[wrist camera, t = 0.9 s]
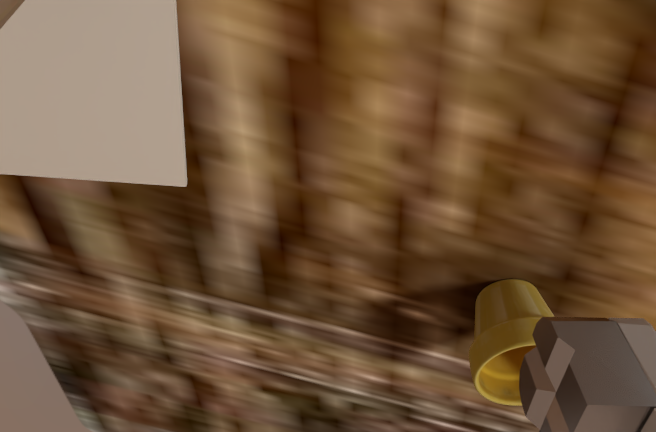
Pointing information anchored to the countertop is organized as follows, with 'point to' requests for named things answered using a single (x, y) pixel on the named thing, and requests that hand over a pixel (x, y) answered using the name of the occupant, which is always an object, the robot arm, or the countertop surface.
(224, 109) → the countertop surface
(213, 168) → the countertop surface
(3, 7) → the wooden block
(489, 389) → the plant pot
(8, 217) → the countertop surface
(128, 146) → the mat
